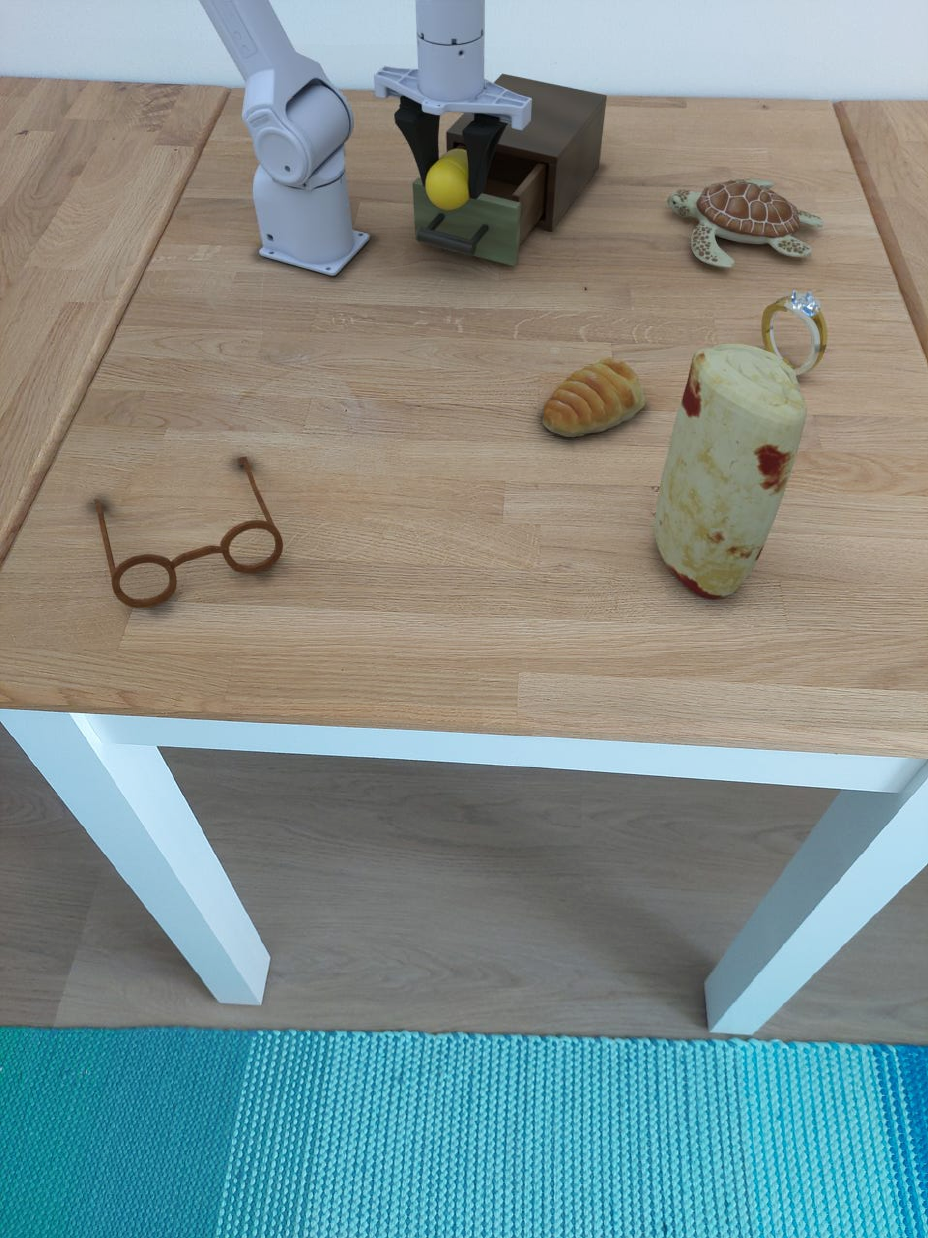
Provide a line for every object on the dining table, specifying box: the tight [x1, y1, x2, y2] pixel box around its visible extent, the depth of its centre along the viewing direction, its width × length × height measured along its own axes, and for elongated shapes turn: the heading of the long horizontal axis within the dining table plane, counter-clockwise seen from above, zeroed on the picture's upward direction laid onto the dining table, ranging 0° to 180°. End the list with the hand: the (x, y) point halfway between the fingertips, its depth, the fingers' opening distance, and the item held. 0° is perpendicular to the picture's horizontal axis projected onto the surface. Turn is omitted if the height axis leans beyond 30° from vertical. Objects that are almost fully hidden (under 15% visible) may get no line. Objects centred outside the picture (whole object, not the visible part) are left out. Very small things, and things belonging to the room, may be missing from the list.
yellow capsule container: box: [426, 149, 469, 210], centre depth 88 cm, size 6×4×4 cm
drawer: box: [411, 143, 549, 267], centre depth 98 cm, size 18×12×6 cm, turn 155°
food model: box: [652, 343, 808, 600], centre depth 66 cm, size 10×7×20 cm
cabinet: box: [445, 73, 608, 232], centre depth 105 cm, size 15×13×8 cm
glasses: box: [93, 456, 284, 609], centre depth 75 cm, size 13×13×5 cm
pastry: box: [542, 357, 646, 438], centre depth 84 cm, size 9×7×4 cm
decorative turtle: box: [667, 178, 825, 269], centre depth 100 cm, size 18×17×5 cm
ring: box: [760, 289, 828, 377], centre depth 85 cm, size 7×3×8 cm, turn 25°
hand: (453, 187), depth 89 cm, fingers closed on yellow capsule container, 4 cm apart
